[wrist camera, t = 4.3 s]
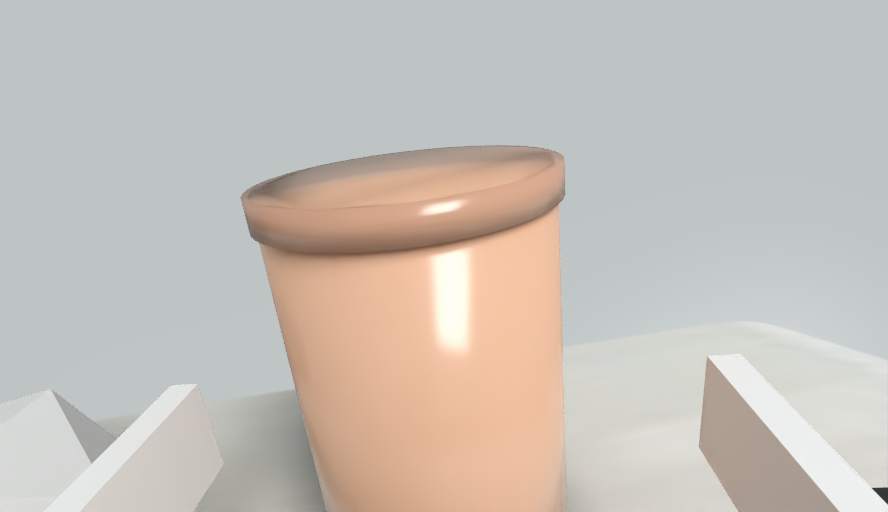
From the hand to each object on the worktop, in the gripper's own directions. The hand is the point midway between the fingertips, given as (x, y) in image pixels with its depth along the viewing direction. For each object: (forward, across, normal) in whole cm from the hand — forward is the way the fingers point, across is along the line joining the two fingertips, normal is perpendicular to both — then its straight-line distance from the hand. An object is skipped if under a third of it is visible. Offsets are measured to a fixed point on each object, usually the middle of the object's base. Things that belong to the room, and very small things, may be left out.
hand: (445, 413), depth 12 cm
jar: (+2, 0, -9) cm, 9 cm away
